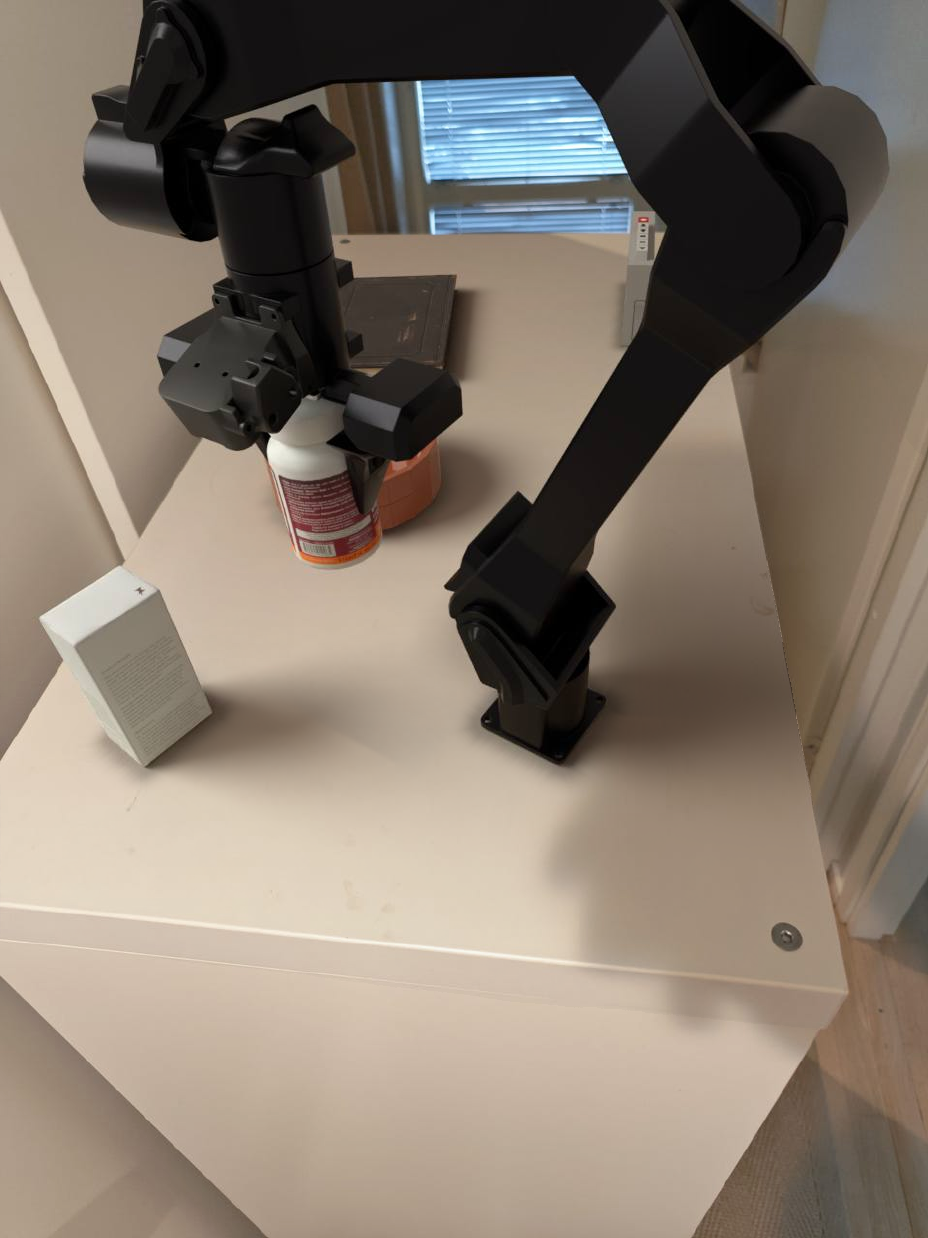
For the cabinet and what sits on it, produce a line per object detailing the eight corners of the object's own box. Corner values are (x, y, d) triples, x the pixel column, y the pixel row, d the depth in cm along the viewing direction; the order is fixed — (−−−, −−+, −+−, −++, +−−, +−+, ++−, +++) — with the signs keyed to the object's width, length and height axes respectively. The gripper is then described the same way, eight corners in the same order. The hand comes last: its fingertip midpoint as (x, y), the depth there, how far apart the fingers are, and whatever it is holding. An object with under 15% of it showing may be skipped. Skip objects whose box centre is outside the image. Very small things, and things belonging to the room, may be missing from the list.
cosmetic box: (177, 686, 62) (122, 561, 53) (214, 714, 60) (162, 588, 51) (106, 740, 58) (35, 616, 50) (142, 771, 56) (74, 647, 48)
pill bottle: (400, 547, 57) (376, 397, 49) (320, 587, 55) (281, 436, 47) (355, 505, 61) (326, 360, 53) (278, 540, 59) (236, 394, 51)
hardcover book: (457, 292, 107) (456, 273, 106) (444, 383, 91) (443, 363, 89) (333, 295, 109) (330, 278, 107) (298, 386, 92) (294, 367, 91)
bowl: (371, 562, 70) (362, 509, 67) (242, 506, 77) (226, 455, 73) (473, 471, 79) (470, 419, 75) (349, 427, 86) (340, 378, 82)
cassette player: (625, 286, 106) (632, 202, 99) (647, 286, 105) (656, 202, 98) (621, 345, 95) (628, 255, 88) (645, 346, 95) (655, 255, 88)
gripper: (38, 278, 43) (135, 520, 54) (317, 360, 36) (365, 622, 47) (195, 207, 50) (254, 436, 61) (460, 263, 42) (473, 513, 53)
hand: (327, 496), depth 55 cm, fingers closed on pill bottle, 6 cm apart
